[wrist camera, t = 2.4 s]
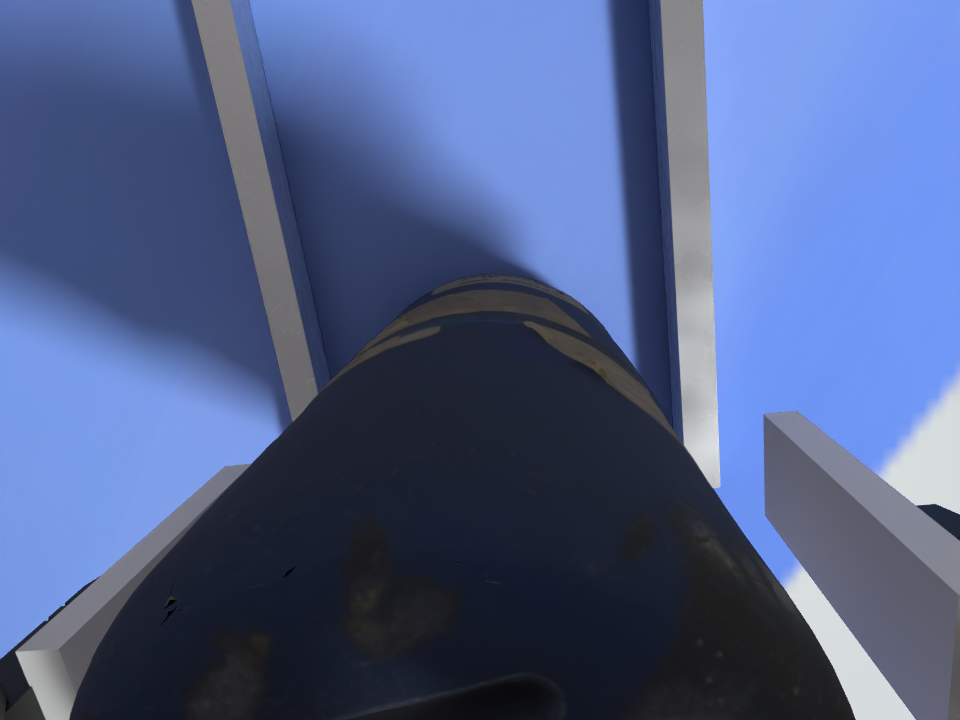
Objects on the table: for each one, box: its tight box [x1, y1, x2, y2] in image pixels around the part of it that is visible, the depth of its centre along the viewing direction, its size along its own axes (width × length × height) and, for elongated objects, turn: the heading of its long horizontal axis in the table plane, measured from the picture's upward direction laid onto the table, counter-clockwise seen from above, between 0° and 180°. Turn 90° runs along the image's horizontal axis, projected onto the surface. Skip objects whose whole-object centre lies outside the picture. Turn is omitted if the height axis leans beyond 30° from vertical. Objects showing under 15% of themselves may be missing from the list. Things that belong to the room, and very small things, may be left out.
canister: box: [69, 274, 856, 720], centre depth 14 cm, size 10×10×18 cm
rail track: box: [191, 0, 720, 488], centre depth 20 cm, size 15×20×2 cm
